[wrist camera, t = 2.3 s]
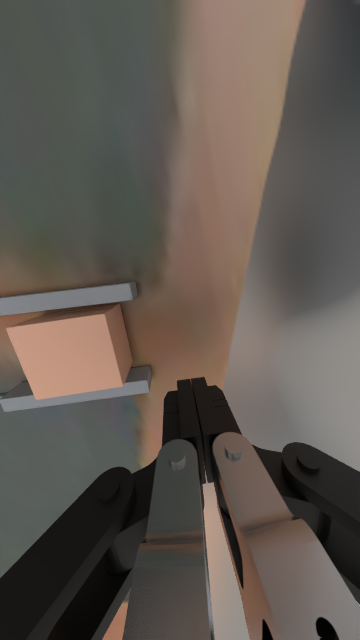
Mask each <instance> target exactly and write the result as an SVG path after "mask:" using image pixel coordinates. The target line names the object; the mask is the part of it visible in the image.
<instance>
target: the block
mask: <svg viewBox="0 0 360 640" xmlns="http://www.w3.org/2000/svg"><path fill="white" fill-rule="evenodd" d="M6 330H7V332H8V335H9V337H10V339H11V342H12V344H13V347H14V349H15V351H16V354H17V356H18V358H19V361H20V363H21V366H22V368H23V370H24V373H25V375H26V377H27V380H28V382H29V385H30V387H31V389H32V392H33V394H34V397H35V399H36V400H40V399H46V398H52V397H59V396H65V395H72V394H78V393H85V392H91V391H97V390H104V389H110V388H117V387H123V386H124V383H125V380H126V378H127V375H128V373H129V370H130V368H131V365H132V362H133V360H132V355H131V351H130V346H129V342H128V338H127V333H126V329H125V325H124V320H123V316H122V312H121V307H120V303H119V304H112V305H105V306H99V307H92V308H85V309H78V310H71V311H64V312H57V313H50V314H44V315H41V316H38V317H36V318H33V319H30V320H27V321H24V322H21V323H19V324H16V325H13V326H10V327H7V328H6Z"/></svg>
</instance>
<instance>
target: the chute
mask: <svg viewBox="0 0 360 640" xmlns="http://www.w3.org/2000/svg"><path fill="white" fill-rule="evenodd" d="M137 296H138V294H137V288H136V282H126V283H117V284H109V285H100V286H92V287H83V288H74V289H66V290H57V291H48V292H40V293H31V294H23V295H14V296H5V297H0V316H2V315H11V314H19V313H28V312H36V311H44V310H53V309H61V308H70V307H78V306H86V305H95V304H103V303H112V302H120V301H128V300H133V299H134V298H136V297H137ZM151 379H152V374H151V368H150V366H142V367H134V368H130V370H129V373H128V375H127V378H126V380H125V383H124V386H123V387H117V388H110V389H104V390H97V391H91V392H85V393H78V394H72V395H65V396H59V397H52V398H46V399H40V400H36V399H35V397H34V394H33V392H32V389H31V387H30V385H29V382H28V381H27V382H22V383H20V384H19V385H18V386H16V387H15V388H14V389H12V390H11V391H10V392H9V393H7V394H6V395H5V396H3V397H2V398H1V399H0V403H1V405H2V408H3V410H4V412H8V411H15V410H23V409H30V408H37V407H45V406H52V405H60V404H67V403H75V402H82V401H89V400H97V399H104V398H112V397H119V396H127V395H134V394H141V393H149V392H150V385H151Z"/></svg>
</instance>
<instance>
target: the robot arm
mask: <svg viewBox="0 0 360 640" xmlns="http://www.w3.org/2000/svg"><path fill="white" fill-rule="evenodd" d="M191 384H192V386H191ZM177 388H178V390H177V391H169V392H168V393H167V395H166V396H165V398H164V413H163V414H164V415H163V437H162V448H161V449H160V451H159V453H158V456H157V458H156V459H155V460H154V461H153V462H152V463H151V464H149V465H148V466H146V467H145V468H143V469H141V470H139V471H137V472H135V473H133V474H131V472H130V471H129V470H128V469H126V468H124V467H115V468H111V469H109V470H107V471H105V472H104V473H102V474H101V475H100V476H99V477H98V478H97V479H96V480H95V481H94V482H93V483H92V484H91V485H90V486H89V487H88V488H87V489H86V490H85V491H84V492H83V493H82V494H81V495H80V496H79V497H78V499H77V500H76V501H75V502H74V503H73V504H72V505H71V506H70V507H69V508H68V509H67V510H66V511H65V512H64V513H63V514H62V515H61V516H60V517H59V518H58V519H57V520H56V521H55V522H54V523H53V524H52V525H51V526H50V528H49V529H48V530H47V531H46V532H45V533H44V534H43V535H42V536H41V537H40V538H39V539H38V540H37V541H36V542H35V543H34V544H33V545H32V546H31V547H30V548H29V549H28V550H27V551H26V552H25V553H24V554H23V555H22V557H21V558H20V559H19V560H18V561H17V562H16V563H15V564H14V565H13V566H12V567H11V568H10V569H9V570H8V571H7V572H6V573H5V574H4V575H3V576H2V577H1V578H0V640H102V638H103V637H104V635H105V633H106V631H107V629H108V628H109V626H110V624H111V622H112V620H113V618H114V617H115V615H116V613H117V611H118V609H119V607H120V606H121V604H122V602H123V600H124V598H125V596H126V595H127V593H128V591H129V589H130V587H131V591H130V597H129V603H128V609H127V615H126V621H125V627H124V633H123V639H122V640H215V638H214V628H213V616H212V606H211V595H210V584H209V571H208V559H207V548H206V536H205V524H204V513H203V510H204V495H203V486H202V484H205V483H206V477H205V471H206V476H207V481H208V483H211V482H214V486H215V491H216V496H217V507H218V511H219V515H220V518H221V522H222V526H223V530H224V534H225V537H226V541H227V545H228V549H229V552H230V556H231V560H232V564H233V567H234V571H235V575H236V578H237V582H238V586H239V590H240V594H241V598H242V602H243V608H244V613H245V619H246V624H247V628H248V633H249V637H250V640H360V607H359V605H358V603H359V604H360V472H359V471H357V470H355V469H353V468H351V467H349V466H348V465H346V464H344V463H342V462H340V461H338V460H337V459H334V458H333V457H331V456H329V455H327V454H325V453H323V452H321V451H320V450H318V449H316V448H314V447H312V446H310V445H307V444H304V443H298V442H294V443H290V444H287V445H286V446H285V447H284V448H283V451H282V453H281V452H276V451H270V450H265V449H261V448H258V447H256V446H254V445H252V444H251V443H250V442H249V440H248V439H247V438H245V437H244V436H243V435H242V433H241V432H240V429H239V427H238V425H237V423H236V420H235V418H234V416H233V414H232V412H231V409H230V407H229V406H228V403H227V400H226V398H225V396H224V394H223V392H222V390H221V389H219V388H218V387H217V386H216V385H214V386H207V383H206V380H205V378H204V377H200V378H192V379H191V381H190V379H185V380H178V381H177ZM204 465H205V467H204ZM356 601H357V602H358V603H357V602H356ZM320 637H321V638H320Z"/></svg>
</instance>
